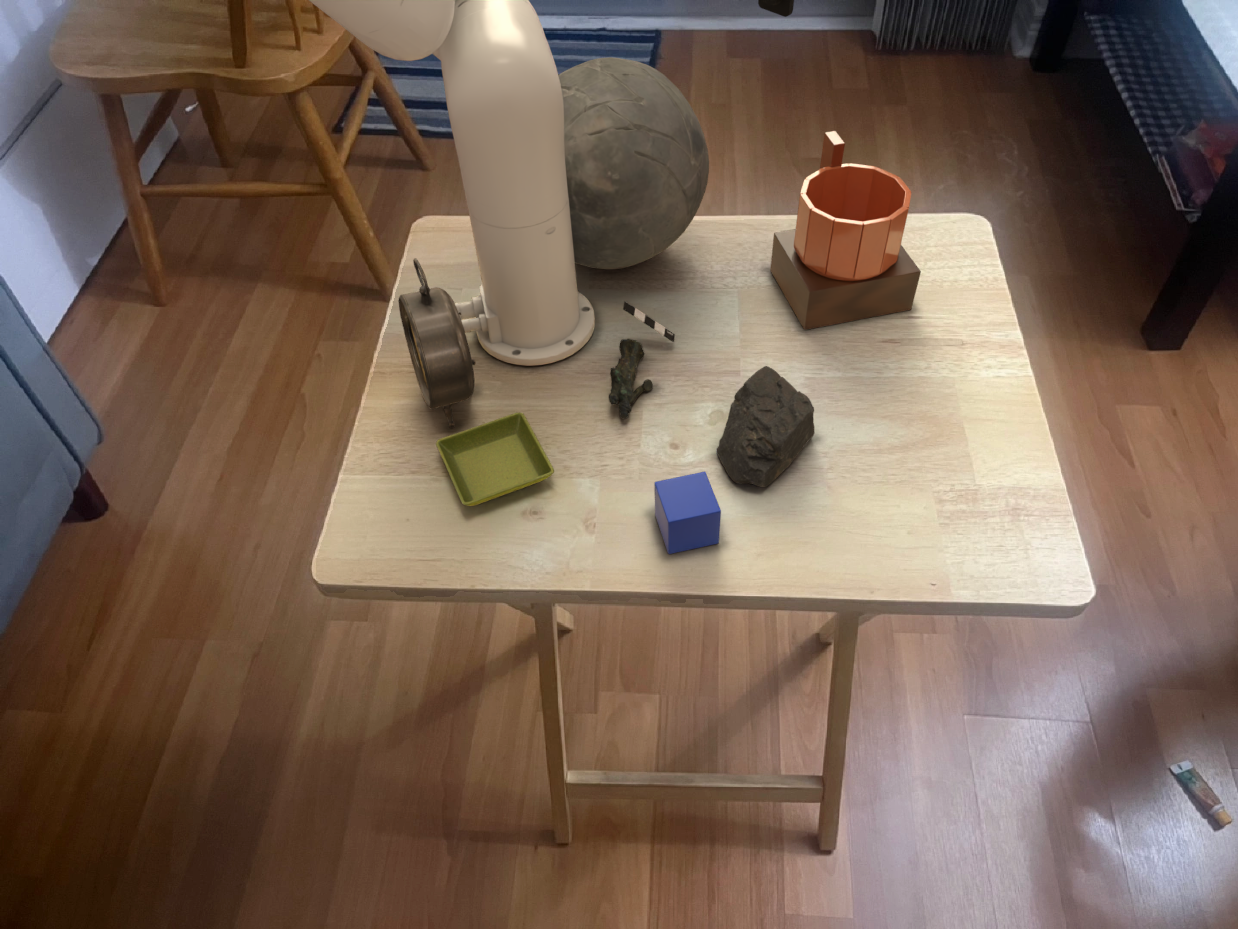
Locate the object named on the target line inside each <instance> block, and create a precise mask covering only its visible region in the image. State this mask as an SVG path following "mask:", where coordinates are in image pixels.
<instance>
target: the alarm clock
mask: <svg viewBox="0 0 1238 929" xmlns="http://www.w3.org/2000/svg"><path fill="white" fill-rule="evenodd" d="M412 261H413V262H412V263H413V267H414V269H415V273H416V275H417V278H418V280H419V283H420V287H419V288H418V290H417V291H413V292H409V293H404V294H400V295H399V296H398V309H399V316H400V319H401V326H402V328H403V329H402V330H403V333H404V336H405V340H406V341H405V342H406V346H407V349H408V353H409V356H410V361H411V364H412V366H413V370H414V374H415V377H416V380H417V383H418V386H419V389H420V393H421V395H422V397H423V400H424V402H425V404H426V406H427V408H429V409H430V410H434V409H437V408H441V407H442V408H443V411H444V414H445V417H446V419H447V421H448V428H449V429H454V428H455V427H456V424H455V421H454V418H453V410H452V408H451V405H453V404H456V403H460V402H464V401H467V400H469V399H470V398H471V397H472V395H473V393H474V391H475V370H474V366H475V365H476V360H475V359H474V358H472V354H471V350H470V346H469V341H468V337H467V333H465V330H464V327H463V324H462V321H461V318H460V315H461V313H460V312H459V313H458V310H457V308H456V305H455V303H456V302H455V301H454V299H453V298H452V296H451V295H450V293H448V291H446V290H445V289H443V288H442V287H438V286H437V287H436V286H435V287H431V288H430V287H429V284H428V280H427V277H426V274H425V272H424V269H423V267H422V265H421V264H420V262H419V260H418V259H417V258H413V260H412ZM459 314H460V315H459Z"/></svg>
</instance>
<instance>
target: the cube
mask: <svg viewBox="0 0 1238 929" xmlns="http://www.w3.org/2000/svg"><path fill="white" fill-rule="evenodd" d="M653 484H654V485H653V486H654V488H653V490H654V516H655V519H656V522H657V525H658V528H659V531H660V535H661V537H662V539H663V543H664V545H665V549H666V552H667V554H668V555H672V554H677V553H682V552H687V551H691V550H695V549H700V548H703V547H704V548H705V547H708V546H712V545H717V544H719V543H720V530H721V518H722V510H721V507H720V505H719V502H718V500H717V497H716V495H715V492H714V490H713V487H712V485H711V482H710V480H709V477H708V475H707V472H706V471H705V470H704V471H700V472H695V473H690V474H686V475H680V476H675V477H672V478H665V479H661V480H656V481H654V483H653Z"/></svg>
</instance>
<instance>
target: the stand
mask: <svg viewBox="0 0 1238 929" xmlns="http://www.w3.org/2000/svg"><path fill="white" fill-rule="evenodd" d="M795 230H796V228H793V229H787V230H781V231H777V232H776V231H775V232H774V233H773V239H772V247H771V248H772V250H771V260H770V270H769V271H770V272H771V274H772V276H773V278H774V279H775V281H776V283H777V285H778V287H779V289H780V290H781V292H782V293H783V295H784V297H785V298H786V301H787V303H788V304H789V306H790V308H791V309H792V311H793V313H794V314H795V317H796V318H797V320H798V322H799V323H800V325H801V327H802V329H803V331H808V330H811V329H813V330H814V329H818V328H822V327H827V326H833V325H834V326H835V325H838V324H844V323H849V322H854V321H859V320H865V319H869V318H874V317H880V316H885V315H891V314H897V313H900V312H905V311H911V310H912V309H913V304H914V301H915V296H916V293H917V290H918V285H919V281H920V277H921V273H922V271H921V270H920V268H919V267H918V265H917V264H916V262H914V260H913V259H912V257H911V256H910V255H909V254H908V252H907V250H905V248H904V247H903V245H902V244H901V246H900V250H899V255H898V259H897V261H896V263H894V264H893V265H892V266H890V267H889V268H888V269H887V270H886V271H885V272H883V273H882V274H880V275H878V276H876V277H873V278H869V279H865V280H858V281H844V280H836V279H831V278H828V277H825V276H822V275H820V274H817V273H815V272H814V271H812V270H810V269H809V268H808V267H807V266H806V265H805V264H804V263H803V262H802V261H801V260H800V258H799V255H798V254H797V252H796V251H795V249H794V238H795Z"/></svg>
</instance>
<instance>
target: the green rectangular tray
mask: <svg viewBox="0 0 1238 929" xmlns="http://www.w3.org/2000/svg"><path fill="white" fill-rule="evenodd" d="M435 445H436V448H437V450H438V452H439V454H440V457H441V458H442V459H441V460H442V462H443V464H444V466H445V469H446V471H447V473H448V475H449V477H450V479H451V482H452V484H453V487H454V489H455V491H456V494H457V496H458V498H459V500H460V502H461V504H462V505H463V506H467V507H474V506H477V505H480V504H483V503H487V502H488V501H491V500H494V499H497V498H499V497H502V496H505V495H508V494H510V493H513V492H516V491H519V490H522V489H524V488H527V487H529V486H532V485H535V484H538V483H540V482H542V481H545V480H546V479H548V478H550V477H551V476H552V475H553V474H554V473H555V469H554V466H553V465H552V463H551V461H550V459H549V457H548V456H547V453H546V452H545V450H544V448H543V447H542V444H541V443H540V441H539V439H538V437H537V436H536V433H535V432H534V430H533V428H532V426H531V424H530V422H529V420H528V419H527V417H526V415H525V413H524V412H514V413H510V414H507V415H505V416H503V417H502V416H501V417H500V418H496V419H493V420H491V421H488V422H485V423H482V424H480V425H477V426H474V427H471V428H467V429H465V430H462V431H459V432H456V433H453V434H450V435H447V436H444V437H441V438H438V439H437V440H436V442H435Z"/></svg>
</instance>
